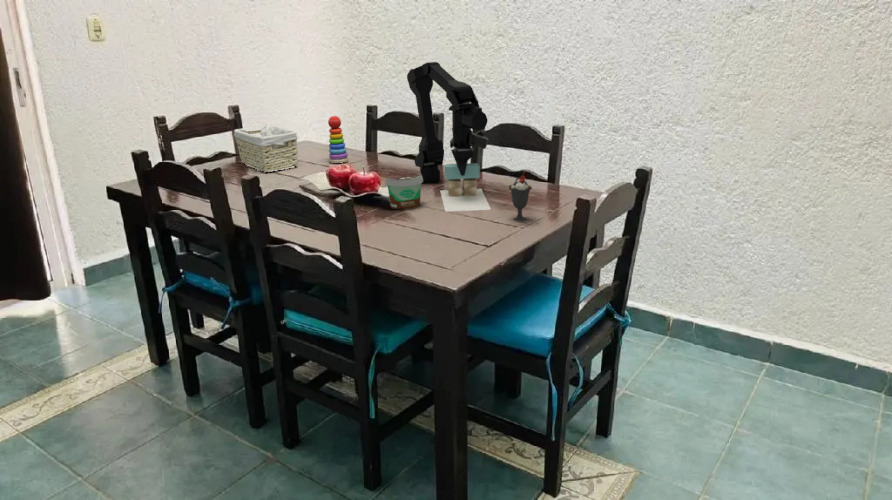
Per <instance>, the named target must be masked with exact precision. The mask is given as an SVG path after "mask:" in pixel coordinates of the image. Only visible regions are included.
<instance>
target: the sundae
mask: <svg viewBox="0 0 892 500" xmlns="http://www.w3.org/2000/svg"><path fill="white" fill-rule="evenodd" d="M525 173H526V172H525V171H523V172H522V174H521V176H520V177H515V181H514V183H513V184H510V185H508V190H509V191H510V192H511V199H512V200H511V201H512V205H513V207H515V209H516V210H517V215H516V217H513V219H512V220H513V221H514V222H522V224H526V222H525V221H527V218H526V217H523V209H524V208H525V207H526V206H527V204H528V200H529V196H530V195H529V194H530V191H531V190H532V189H533V186H531V185H529V184H528V181H527V179H526V178H525V177H526V176H525Z"/></svg>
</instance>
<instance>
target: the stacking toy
mask: <svg viewBox="0 0 892 500" xmlns="http://www.w3.org/2000/svg"><path fill="white" fill-rule="evenodd" d="M327 123H328V126H329V127H330V129H328V132H329V133H330V134H329V136H328V137H329V140H328V142H329V145H328V146H329V149H328V152H329V156H328V157H329V158H328V161H329V163H330V162H331V163H330V164H332V163H340V162H346V163H348V162H349V160H350V159H349V157H348V155H349V154H348V152H347V148H346V143H345V139H344V134H343V132H342V131H343V130H342V128H341V125H342V120H341V119H340V117H339V116H337V115H333V116H330V117H329V118H328V122H327Z"/></svg>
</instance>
